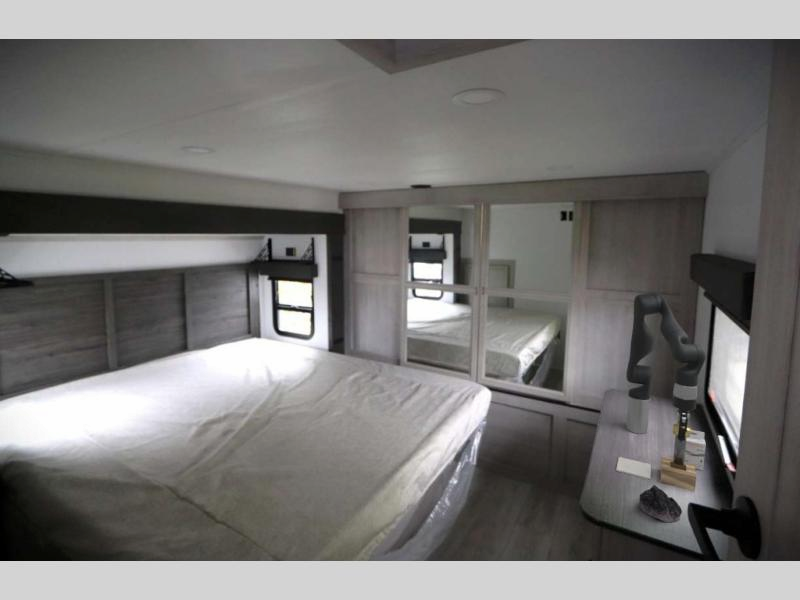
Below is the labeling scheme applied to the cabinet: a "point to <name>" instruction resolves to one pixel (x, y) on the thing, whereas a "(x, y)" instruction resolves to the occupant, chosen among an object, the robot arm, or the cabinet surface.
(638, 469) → the pad
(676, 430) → the grey gold cylinder
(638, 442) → the cabinet surface
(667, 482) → the wooden block
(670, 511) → the crystal cluster
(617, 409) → the cabinet surface
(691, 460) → the ink box
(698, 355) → the robot arm
